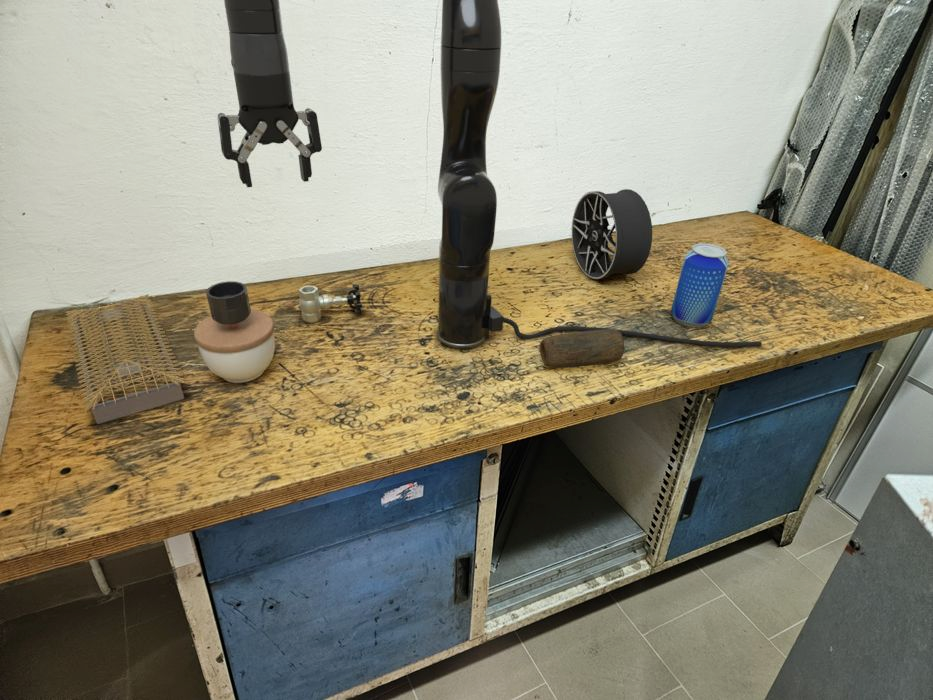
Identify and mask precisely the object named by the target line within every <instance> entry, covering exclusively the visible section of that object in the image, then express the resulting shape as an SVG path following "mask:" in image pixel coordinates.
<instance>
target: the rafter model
mask: <svg viewBox="0 0 933 700" xmlns="http://www.w3.org/2000/svg"><path fill="white" fill-rule="evenodd" d="M124 300H125V301H122V302H116V303H112V304H110V303H109V302H107V305H103V306H101V304H99V305H98V307H93V308H92V306H90V307H89V308H84V309H83V308H82V307H81V309H72V310H69V311H65V313H66V314H65V315H66V316H67V317H66V321H67V323H66V324H67V327H69V328H68V330H69V331H68V333H69V334H70V335H69V337H71V338H70V341H71V342H70V343H71V344H72V345H71V347H72V348H73V349H72V352H73V355H75V356H74V357H73V359H76V360H74V363H77V364H75V367H77V368H76V371H79V372H77V373H76V375H77V376H78V377H77V379H78V380H80V379H81V380H80V381H78V384H81V385H79V386H78V387H79V388H82V389H80V393H82V392H84V393H82V394H81V395H80V396H81V397H83V398H82V399H81V402H82V404H85V403H86V404H85V405H84V406H83V409H84V413H86V412H88V411H89V410H91V412H92V415H93V417H94V419H95V422H96V424H97V425H99V424H102V423H106V422H110V421H113V420H116V419H120V418H123V417H127V416H131V415H134V414H137V413H141V412H143V411H146V410H147V411H148V410H150V409H154V408H157V407H161V406H164V405H168V404H170V403H174V402H177V401H181V400H184V399H185V396H184V395H185V394H184V392H183V389H182V385H181V383H182V384H185V385H186V384H188V382H187V381H186V378H185V377H182V376H184V374H183V371H179V370H182V368H181V367H179V366H180V364H179V363H178V360H173V359H177V358H176V356H173V355H175V353H174V352H173V348H171V346H172V345H169V344H170V341H169V338H165V337H167V335H166V334H165V333H166V332H165V331H163V330H164V328H163V325H162V324H161V321H160V319H159V318H158V317H159V316H158V315H157V312H156V309H154V308H155V307H154V306H153V303H152V300H151V299H150V296H149V294H144V295H140V296H138V297H133V298H132V299H129V300H127V299H126V298H124ZM137 336H138V337H137ZM111 343H112V344H111ZM139 343H140V344H139ZM160 351H161V352H160ZM144 354H145V355H144ZM105 360H106V361H105ZM106 364H107V365H106ZM79 375H80V376H79ZM151 378H153V379H152V380H151ZM159 380H163V381H165V382H166V384H164V385H161V386H158V384H157V381H159ZM152 382H154V384H155V386H156V387H154V388H150V389H148V388H147V384H149V383H152ZM168 382H171V383H168ZM82 383H83V384H82ZM134 383H137V384H134ZM131 384H132V385H131ZM128 385H129V386H128ZM142 385H144V386H145V390H144V391H140V392H137V390H136V387H138V386H142ZM113 388H114V390H113ZM131 388H134V392H135V393H133V394H129V395H126V391H125V390H127V389H131ZM85 391H86V392H85ZM120 391H123V394H124V396H122V397H119V398H115V394H114V393H117V392H120ZM108 394H112V396H113V399H111V400H108V401H105V400H104V397H106V395H108ZM101 400H102V402H101V403H99V402H100V401H101Z"/></svg>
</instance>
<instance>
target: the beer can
mask: <svg viewBox="0 0 933 700" xmlns="http://www.w3.org/2000/svg"><path fill="white" fill-rule="evenodd" d="M727 255H728V252H727V250H726V249H725V248H723V247H722V246H719V245H717V244H713V243H708V242H707V243H706V242H705V243H704V242H701V243H695V244H693V245H692V246H691V249H690V250H689V251H688V252H686V254H685V255H684V258H683V263H682V266H681V270H680V274H679V277H678V282H677V284H676V290H675V293H674V297H673V300H672V305H671V309H670V312H671V315H672V317H673V320H674V321H675V322H676V323H677V324H680V325H682V326H685V327H688V328H695V329H697V328H703V327H705V326H706V325H707V324H709V323H710V322H712V321H713V318H714V315H715V311H716V308H717V304H718V301H719V297H720V296H721V292H722V288H723V284H724V282H725V278H726V274H727V272H728V268H729V264H730V263H729V260H728V256H727Z"/></svg>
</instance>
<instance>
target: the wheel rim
mask: <svg viewBox="0 0 933 700" xmlns="http://www.w3.org/2000/svg"><path fill="white" fill-rule="evenodd" d="M608 209H609V210H610V213H611V215H607V212H608ZM573 211H574V212H573V215H572V221H571V243H572V249H573V253H574V257H575V260H576V263H577V264H578V266H579V268H580V269H581V271H582V272H583V273H584V275H585V276H587V277H589V278H590V279H593V280H599V279H605V278H607V277H609V276H611V275H613V274H624V275H634V274H635V273H637V272H639V271H640V270H641V269H642V268H643V267H644V266H645V264H646V263H647V261H648V258H649V257H650V252H651V249H652V245H653V224H652V218H651V213H650V210H649V208H648V205H647V204H646V202H645V200H644V198H643V197H642V196H641V194H640V193H638V192H636V191H635V190H633V189H629V188H624V189H621V190H618V191H617V192H611V193H610V192H609V193H604V192H603V191H600V190H599V191H598V190H597V191H596V190H595V191H594V190H593V191H588V192H586V193H584V194H583V195H582V196H581V197H580V198H579V200H578V202H577V204H576V206H575V209H574V210H573ZM611 218H612V219H613V222H614V223H613V225H612V226H611V228H609V226H610V223H609V220H608V219H611ZM614 231H615V241H614V238H613V233H614ZM609 245H610V246H611V247H612V248H614V250H612V249H611V248H610V247H609ZM609 254H610V255H612V259H611V257H610V255H609Z"/></svg>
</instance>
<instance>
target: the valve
mask: <svg viewBox="0 0 933 700" xmlns="http://www.w3.org/2000/svg"><path fill="white" fill-rule="evenodd" d="M351 286H352V288H353V289H351V290H349V291H348V292H347V295H346V296H345V297H342V296H334V298H332V297H329V295H328V294H322V296H320V291H319V288H318V287H316V286H314V285H304V286H301V287H300V288H299V290H298V297H299V302H298V305H299V309H300V310H301V313H300V314H301V319H302V320H303V321H304V322H306V323H316V322H318V321H319V320H321V318H322V311H321V310H322V309H323V310H324V311H327V310H330V308H331V307H333V305H335V306H342V305H343V304H346V305H347V306H349V308H350V309H351V310H355V314H356V316H359V315H362V314H363V310H362V308H363V303H362V302H361V297H362V296H361V294H362V293H361V291H360V285H359V283H352V285H351Z"/></svg>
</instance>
